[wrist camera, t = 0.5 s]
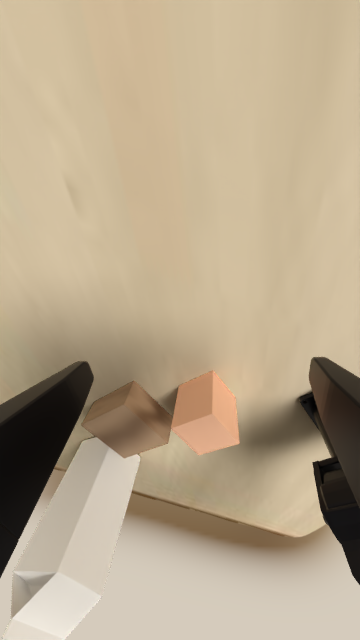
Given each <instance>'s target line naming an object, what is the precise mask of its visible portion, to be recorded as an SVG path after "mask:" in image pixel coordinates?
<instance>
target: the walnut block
mask: <svg viewBox="0 0 360 640" xmlns="http://www.w3.org/2000/svg"><path fill="white" fill-rule="evenodd" d="M172 420H173V417H172V416H171V415H170V414H169V413H168V412H167V411H165V410H164V409H163V408H162V407H161V406H160V405H159V404H158V403H157V402H156V401H155V400H154V399H153V398H152V397H151V396H150V395H149V394H148V393H147V392H146V391H145V390H143V389H142V388H141V387H140V386H139V385H138V384H137V383H136V382H135V381H132V382H131V383H129V384H127V385H125V386H123V387H121V388H119V389H117V390H115V391H114V392H112V393H110V394H108V395H106V396H104V397H102V398H100V399H99V400H97V401H95V402H94V403H93V405H92V407H91V409H90V410H89V412H88V414H87V416H86V417H85V419H84V421H83V422H82V424H81V426H83V427H84V428H85V429H87V430H88V431H89V432H90V433H92V434H93V435H94V436H96V437H97V438H98V439H100V440H101V441H102V442H103V443H105V444H106V445H107V446H109V447H110V448H111V449H112V450H114V451H115V452H116V453H118V454H119V455H120V456H122V457H123V458H127V457H130V456H133V455H136V454H139V453H142V452H145V451H147V450H150V449H153V448H156V447H159V446H162V445H165V444H168V441H169V436H170V431H171V425H172Z"/></svg>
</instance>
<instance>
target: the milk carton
mask: <svg viewBox="0 0 360 640" xmlns="http://www.w3.org/2000/svg"><path fill="white" fill-rule="evenodd" d="M140 459H141V458H140V456H139V455H138V454H136V455H133V456H130V457H127V458H123V457H122V456H120V455H119V454H118V453H116V452H115V451H114V450H112V449H111V448H110V447H109V446H107V445H106V444H105V443H103V442H102V441H101V440H100V439H98V438H97V437H95V438H91V439H87V440H83V441H82V443H81V445H80V447H79V449H78V450H77V452H76V454H75V456H74V458H73V460H72V462H71V464H70V465H69V467H68V469H67V471H66V473H65V475H64V477H63V479H62V481H61V483H60V484H59V486H58V488H57V490H56V492H55V494H54V496H53V497H52V499H51V501H50V503H49V505H48V507H47V509H46V510H45V512H44V514H43V516H42V518H41V520H40V522H39V524H38V525H37V527H36V529H35V531H34V533H33V535H32V537H31V539H30V541H29V542H28V544H27V546H26V548H25V550H24V552H23V554H22V556H21V558H20V559H19V561H18V563H17V565H16V567H15V569H14V571H13V580H12V581H13V582H12V606H11V620H10V622H9V624H8V626H7V628H6V630H5V632H4V634H3V637H2V639H4V640H65V639H66V637H67V636H68V635H69V634H70V633H71V632H72V631H73V629H74V628H75V627H76V626H77V625H78V624H79V623H80V621H81V620H82V619H83V618H84V617H85V616H86V615H87V614H88V612H89V611H90V610H91V609H92V608H93V607H94V606H95V604H96V603H97V602H98V601H99V600H100V599H101V598H102V595H103V591H104V588H105V584H106V580H107V577H108V573H109V570H110V566H111V563H112V559H113V555H114V552H115V548H116V545H117V541H118V538H119V534H120V531H121V527H122V523H123V520H124V516H125V512H126V509H127V505H128V502H129V499H130V495H131V491H132V488H133V484H134V481H135V477H136V474H137V470H138V466H139V463H140Z"/></svg>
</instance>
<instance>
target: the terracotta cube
mask: <svg viewBox="0 0 360 640" xmlns="http://www.w3.org/2000/svg"><path fill="white" fill-rule="evenodd" d="M171 429H172V430H173V431H174V432H175V433H176V434H177V435H178V436H179V437H180V438H181V439H182V440H183V441H184V442H185V443H186V444H187V445H188V446H189V447H190V448H192V449H193V450H194V451H195V452H196V453H197V454H198V455H202V454H205V453H209V452H212V451H216V450H219V449H223V448H226V447H230V446H233V445H237V444H240V442H239V431H238V420H237V409H236V398H235V396H234V395H233V394H232V392H231V391H230V390H229V389H228V388H227V386H226V385H225V384H224V383H223V382H222V380H221V379H220V378H219V377H218V376H217V374H216V373H215V372H214V371H210V372H208V373H206V374H204V375H201V376H199V377H197V378H195V379H193V380H190V381H188V382H186V383H184V384H182V385H179V388H178V394H177V399H176V404H175V409H174V414H173V420H172V425H171Z"/></svg>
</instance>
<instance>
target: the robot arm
mask: <svg viewBox="0 0 360 640" xmlns="http://www.w3.org/2000/svg"><path fill="white" fill-rule="evenodd" d="M93 379H94V377H93V373H92V371H91V368H90V366H89V364H88V362H86V361H78V362H76V363H74V364H72V365H70V366H68V367H67V368H65V369H63V370H61V371H60V372H58V373H56V374H54V375H52V376H51V377H49V378H47V379H45V380H44V381H42V382H40V383H38V384H37V385H35V386H33V387H31V388H29V389H28V390H26V391H24V392H22V393H21V394H19V395H17V396H15V397H13V398H12V399H10V400H8V401H6V402H5V403H3V404H1V405H0V578H1V576H2V573H3V571H4V569H5V567H6V565H7V563H8V561H9V559H10V557H11V555H12V553H13V551H14V549H15V547H16V545H17V543H18V539H19V538H20V536H21V534H22V532H23V530H24V528H25V526H26V524H27V522H28V520H29V518H30V516H31V514H32V512H33V510H34V508H35V506H36V504H37V502H38V500H39V498H40V496H41V493H42V492H43V490H44V488H45V486H46V484H47V481H48V479H49V477H50V475H51V473H52V471H53V469H54V467H55V465H56V463H57V461H58V459H59V457H60V455H61V453H62V451H63V449H64V447H65V445H66V443H67V441H68V439H69V437H70V435H71V433H72V431H73V429H74V427H75V425H76V423H77V421H78V418H79V416H80V414H81V412H82V409H83V407H84V404H85V402H86V399H87V396H88V394H89V391H90V388H91V386H92V383H93ZM309 381H310V385H311V388H312V391H313V393H312V394H309V395H306V396H303V397H301V398H300V399H299V400H300V403H301V405H302V406H303V407H304V409H305V410H306V412H307V413H308V415H309V416H310V418H311V419H312V420H313V422H314V423H315V425H316V426H317V428H318V429H319V431H320V432H321V434H322V437H323V439H324V441H325V444H326V446H327V448H328V450H329V453H330V455H331V458H328V459H325V460H322V461H315V462H313V468H314V476H315V482H316V487H317V492H318V498H319V503H320V508H321V512H322V514H323V518H324V521H325V522H326V524H327V525H329V527H330V528H331V530H332V532H333V534H334V535H335V537H336V538H337V540H338V541H339V542H340V543H341V544H342V547H343V550H344V552H345V555H346V558H347V561H348V564H349V567H350V569H351V572H352V575H353V576H354V578H355V579H356V581H357V582H358V583H359V585H360V378H359V377H357V376H355V375H354V374H352V373H351V372H349V371H347V370H346V369H344V368H342V367H341V366H339V365H337V364H336V363H334V362H332V361H331V360H329V359H328V358H326V357H313V358H312V360H311V364H310V371H309Z"/></svg>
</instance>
